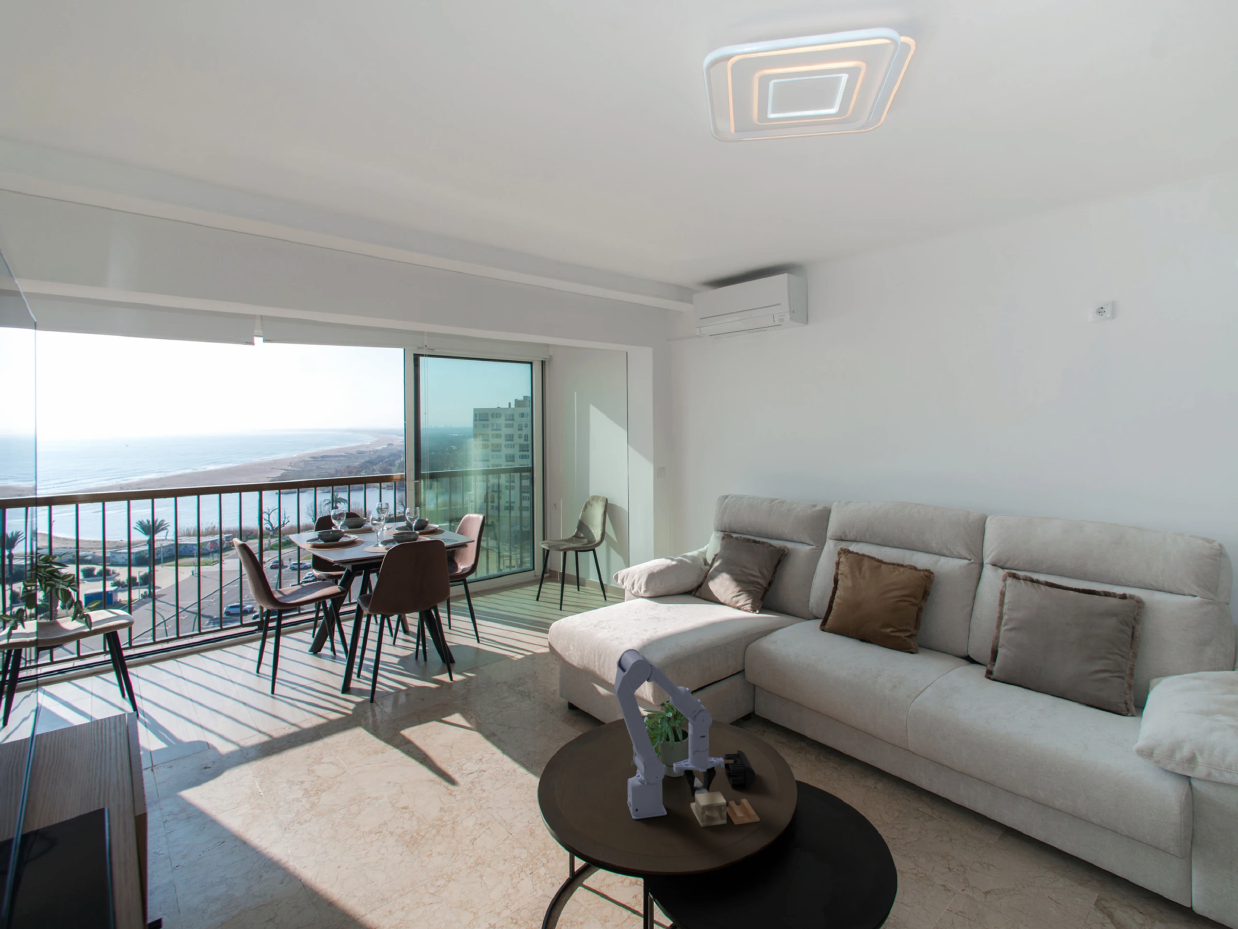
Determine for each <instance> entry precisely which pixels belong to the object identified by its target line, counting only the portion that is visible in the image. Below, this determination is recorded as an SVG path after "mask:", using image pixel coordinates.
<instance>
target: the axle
mask: <svg viewBox="0 0 1238 929" xmlns="http://www.w3.org/2000/svg"><path fill="white" fill-rule="evenodd" d="M687 786H688V785H687ZM688 788H689V786H688ZM702 793H710V791H709V792H708V791H707V790H706V788H705V787H704V786H703V783H702V782H701V781H700V780H699V778H698V777H696V776H695V782H694V796H695V794H702Z"/></svg>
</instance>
